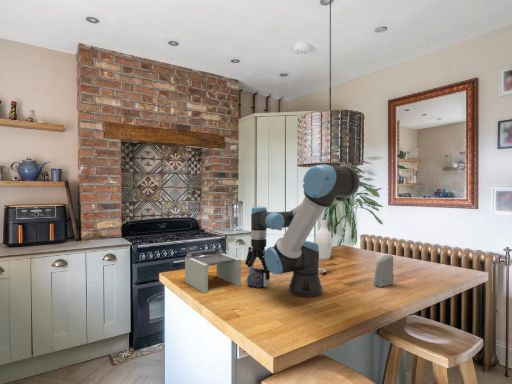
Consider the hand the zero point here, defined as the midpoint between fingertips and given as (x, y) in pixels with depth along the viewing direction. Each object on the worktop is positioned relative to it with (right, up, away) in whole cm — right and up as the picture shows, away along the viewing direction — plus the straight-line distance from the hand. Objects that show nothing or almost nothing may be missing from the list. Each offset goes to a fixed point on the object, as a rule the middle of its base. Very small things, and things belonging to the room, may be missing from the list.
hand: (258, 282), depth 152 cm
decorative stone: (+62, -2, +2) cm, 62 cm away
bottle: (+45, -1, +60) cm, 75 cm away
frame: (-23, -1, +2) cm, 23 cm away
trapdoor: (-24, +6, +4) cm, 25 cm away
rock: (0, -1, 0) cm, 2 cm away
